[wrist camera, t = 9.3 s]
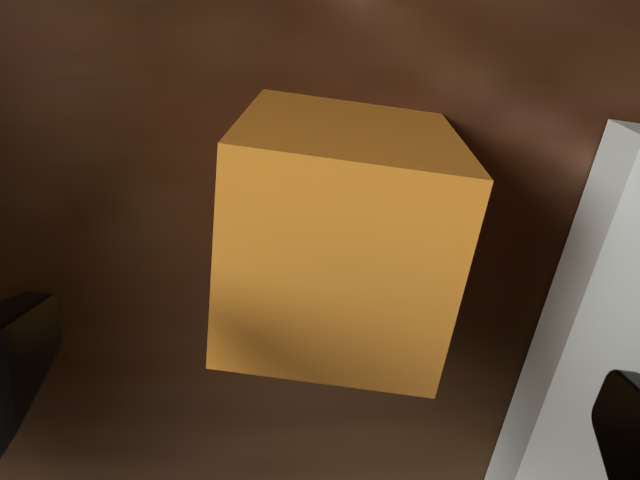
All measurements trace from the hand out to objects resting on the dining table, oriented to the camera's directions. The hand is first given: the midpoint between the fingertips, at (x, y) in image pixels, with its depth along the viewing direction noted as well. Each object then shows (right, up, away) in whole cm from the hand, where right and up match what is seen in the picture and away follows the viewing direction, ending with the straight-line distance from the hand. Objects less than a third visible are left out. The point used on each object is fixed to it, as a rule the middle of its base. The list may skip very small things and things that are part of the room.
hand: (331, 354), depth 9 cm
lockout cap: (0, +3, +7) cm, 8 cm away
